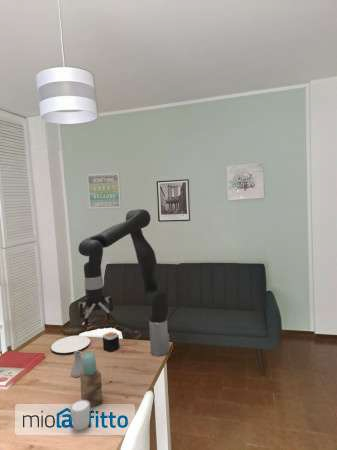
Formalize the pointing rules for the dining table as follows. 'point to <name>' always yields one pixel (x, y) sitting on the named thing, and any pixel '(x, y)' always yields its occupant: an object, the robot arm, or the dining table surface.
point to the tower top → (91, 382)
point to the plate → (70, 344)
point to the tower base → (92, 397)
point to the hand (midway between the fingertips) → (97, 323)
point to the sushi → (111, 342)
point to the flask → (77, 365)
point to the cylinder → (89, 364)
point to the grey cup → (80, 414)
